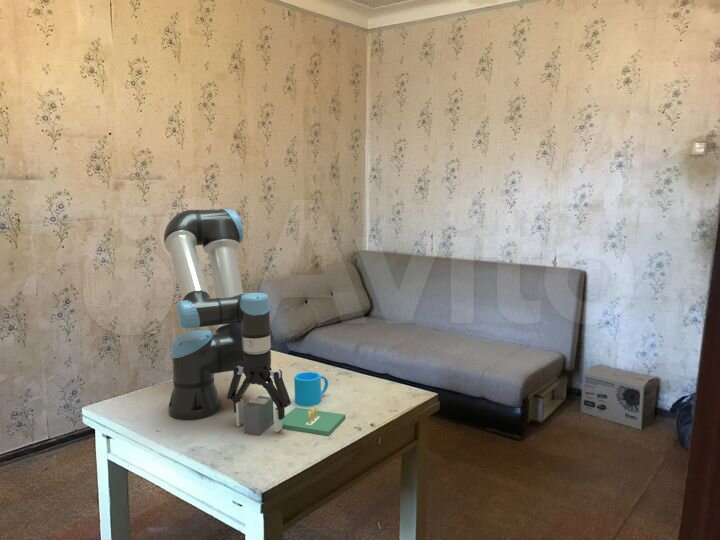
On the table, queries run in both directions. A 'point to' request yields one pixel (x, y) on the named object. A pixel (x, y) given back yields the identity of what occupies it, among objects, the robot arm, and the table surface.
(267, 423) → the grey block with band
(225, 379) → the table surface
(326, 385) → the mug
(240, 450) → the table surface
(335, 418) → the board
